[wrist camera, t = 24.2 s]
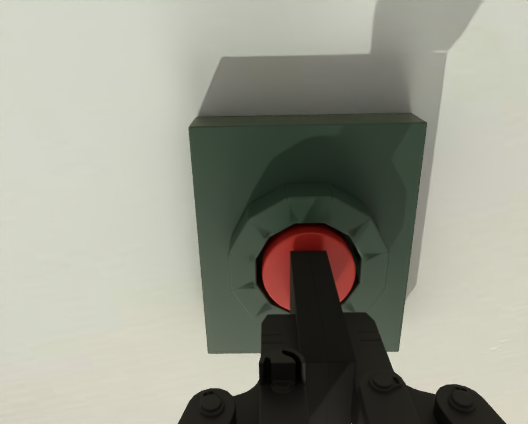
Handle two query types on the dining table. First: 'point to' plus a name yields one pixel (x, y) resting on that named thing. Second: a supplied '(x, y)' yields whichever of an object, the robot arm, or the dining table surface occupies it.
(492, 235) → the dining table surface
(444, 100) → the dining table surface
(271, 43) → the dining table surface
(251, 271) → the switch block
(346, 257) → the stop button
